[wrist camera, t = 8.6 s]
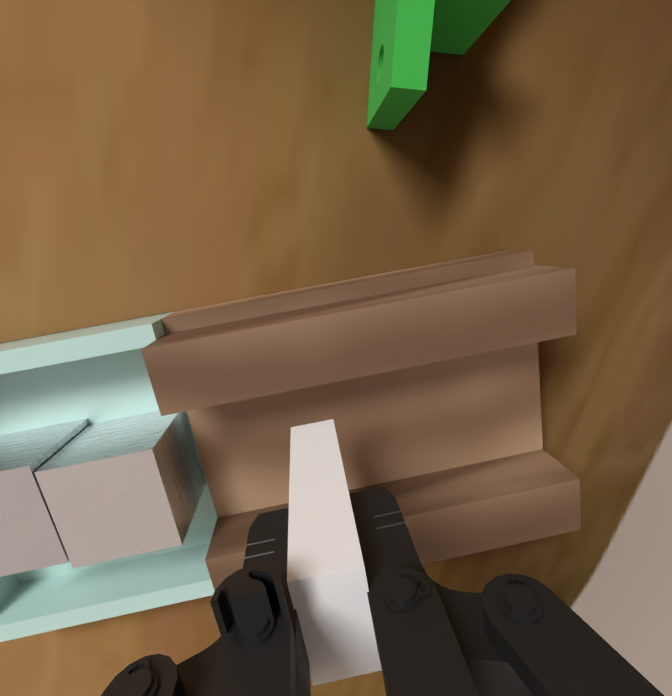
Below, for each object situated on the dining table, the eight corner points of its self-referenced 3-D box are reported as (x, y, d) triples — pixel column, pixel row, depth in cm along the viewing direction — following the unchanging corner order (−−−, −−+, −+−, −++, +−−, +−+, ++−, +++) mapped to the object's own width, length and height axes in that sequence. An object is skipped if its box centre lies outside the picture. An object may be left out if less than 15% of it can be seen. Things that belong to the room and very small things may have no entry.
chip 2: (91, 423, 18) (34, 472, 14) (183, 406, 18) (152, 449, 14) (118, 502, 19) (72, 568, 15) (205, 484, 19) (182, 545, 15)
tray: (-89, 359, 17) (-168, 382, 14) (175, 311, 18) (151, 323, 15) (17, 590, 20) (-31, 648, 17) (239, 542, 20) (229, 591, 18)
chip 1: (-8, 436, 17) (-93, 490, 14) (87, 418, 18) (28, 465, 14) (26, 515, 18) (-45, 586, 15) (115, 497, 19) (68, 562, 15)
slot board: (175, 311, 18) (135, 331, 13) (508, 250, 18) (575, 250, 14) (239, 542, 20) (224, 622, 16) (522, 481, 21) (581, 541, 17)
